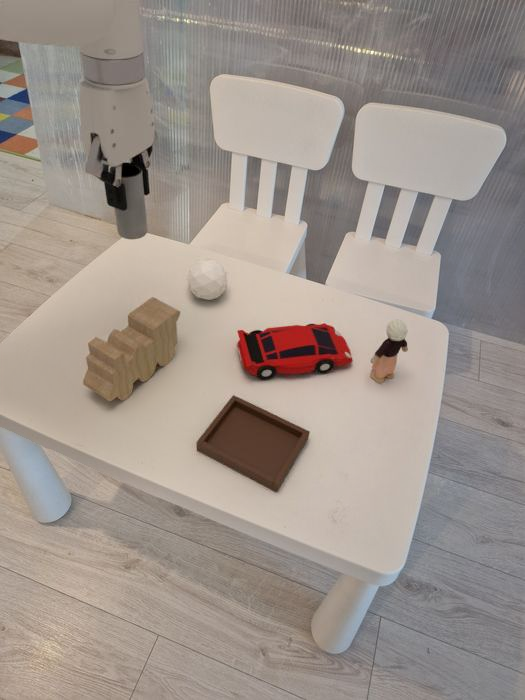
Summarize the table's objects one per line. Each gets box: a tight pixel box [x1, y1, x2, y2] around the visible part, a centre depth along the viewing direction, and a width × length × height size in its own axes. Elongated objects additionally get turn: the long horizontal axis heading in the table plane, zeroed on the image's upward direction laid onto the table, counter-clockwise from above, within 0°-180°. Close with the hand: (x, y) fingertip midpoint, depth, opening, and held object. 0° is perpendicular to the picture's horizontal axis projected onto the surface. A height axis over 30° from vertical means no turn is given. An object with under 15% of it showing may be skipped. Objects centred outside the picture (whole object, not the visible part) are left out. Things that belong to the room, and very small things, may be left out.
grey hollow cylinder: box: [109, 161, 148, 240], centre depth 78 cm, size 4×4×10 cm
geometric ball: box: [187, 259, 229, 301], centre depth 101 cm, size 8×8×8 cm
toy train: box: [82, 296, 181, 402], centre depth 85 cm, size 6×17×10 cm, turn 146°
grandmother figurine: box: [369, 319, 409, 384], centre depth 87 cm, size 8×4×13 cm, turn 132°
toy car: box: [236, 322, 354, 381], centre depth 92 cm, size 10×20×5 cm, turn 106°
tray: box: [195, 394, 311, 493], centre depth 79 cm, size 14×11×2 cm
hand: (128, 198), depth 78 cm, fingers closed on grey hollow cylinder, 4 cm apart
